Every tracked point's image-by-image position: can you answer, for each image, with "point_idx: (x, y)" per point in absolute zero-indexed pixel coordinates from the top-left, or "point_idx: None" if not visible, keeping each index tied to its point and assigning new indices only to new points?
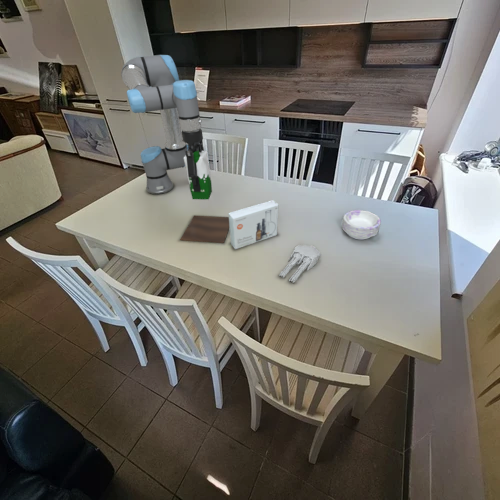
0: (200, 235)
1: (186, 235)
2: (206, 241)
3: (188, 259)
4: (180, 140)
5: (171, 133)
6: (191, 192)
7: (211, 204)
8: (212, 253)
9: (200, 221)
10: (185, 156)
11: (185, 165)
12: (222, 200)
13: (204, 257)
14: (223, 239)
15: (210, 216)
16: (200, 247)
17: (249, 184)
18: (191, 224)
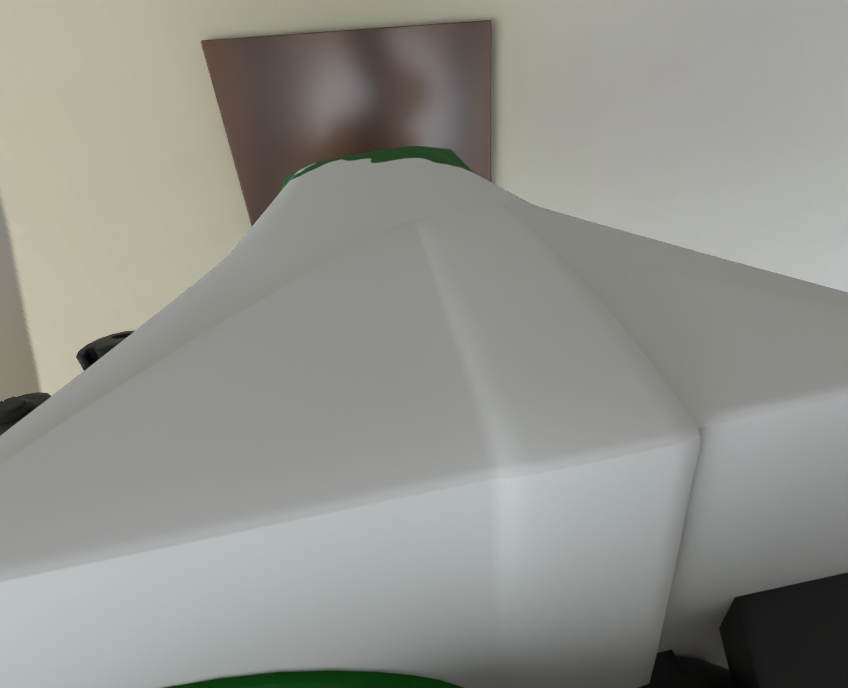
0: (286, 168)
1: (256, 69)
2: (251, 223)
3: (71, 182)
4: None
5: None
6: (282, 187)
7: (637, 96)
8: (180, 285)
9: (426, 105)
10: (65, 620)
11: (178, 299)
12: (677, 155)
13: (133, 259)
14: None
15: (488, 152)
16: (196, 206)
17: (829, 256)
18: (381, 50)
